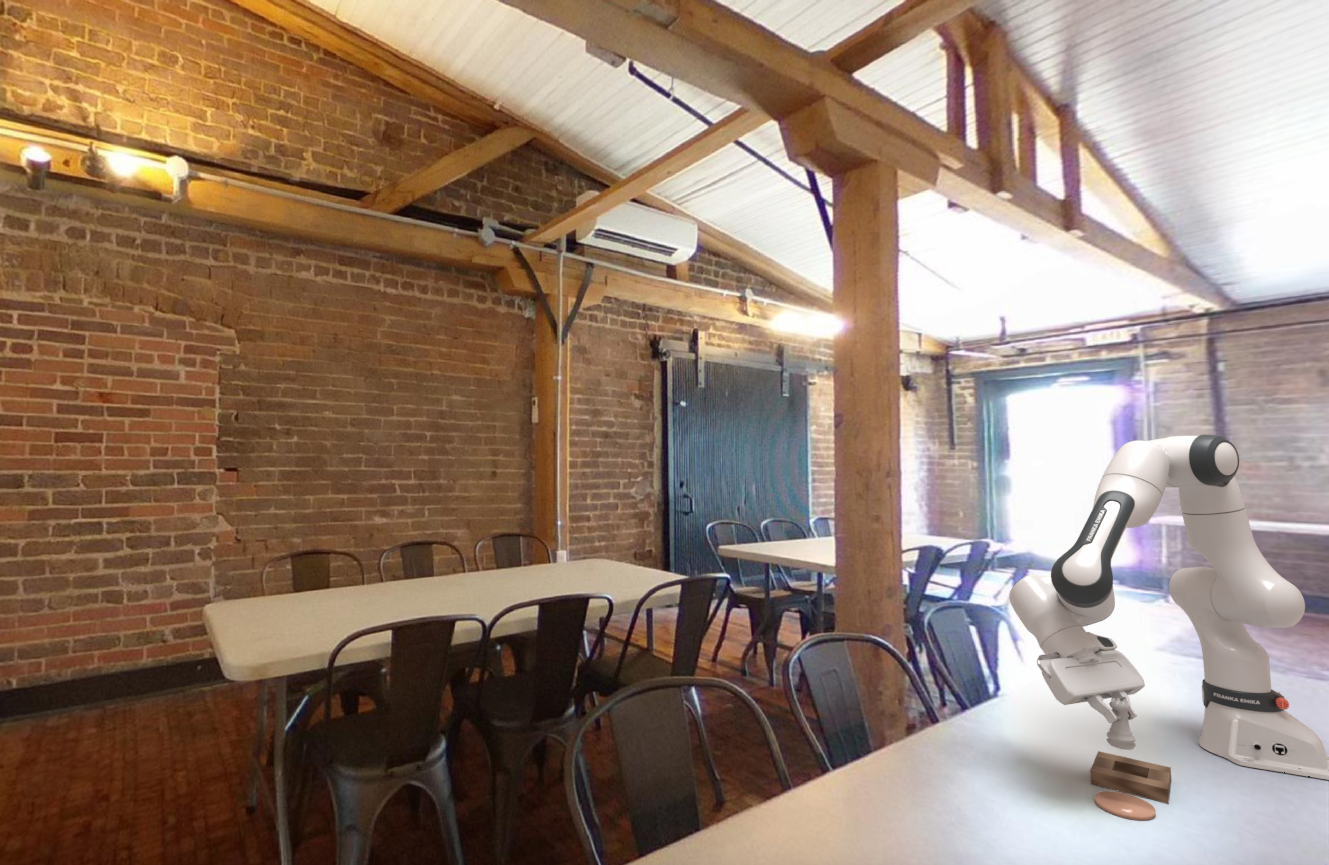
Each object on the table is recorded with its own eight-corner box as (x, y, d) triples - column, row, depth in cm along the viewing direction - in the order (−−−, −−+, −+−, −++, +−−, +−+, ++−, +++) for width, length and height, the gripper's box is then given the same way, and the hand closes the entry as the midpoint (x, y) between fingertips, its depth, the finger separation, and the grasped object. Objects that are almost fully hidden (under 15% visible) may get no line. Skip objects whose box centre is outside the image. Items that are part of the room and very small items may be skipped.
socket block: (1171, 780, 129) (1170, 767, 129) (1168, 803, 120) (1167, 789, 120) (1098, 763, 136) (1098, 751, 137) (1090, 783, 127) (1090, 770, 127)
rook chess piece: (1100, 740, 121) (1098, 696, 121) (1122, 739, 121) (1120, 695, 122) (1120, 750, 116) (1118, 704, 117) (1142, 749, 117) (1140, 703, 117)
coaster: (1157, 806, 119) (1157, 801, 119) (1154, 826, 112) (1153, 821, 112) (1098, 790, 124) (1098, 786, 124) (1091, 809, 117) (1091, 804, 117)
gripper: (1042, 646, 123) (1094, 718, 113) (1118, 638, 130) (1173, 704, 120) (1022, 664, 127) (1071, 735, 117) (1097, 655, 134) (1149, 721, 124)
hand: (1124, 719), depth 119 cm, fingers closed on rook chess piece, 3 cm apart
